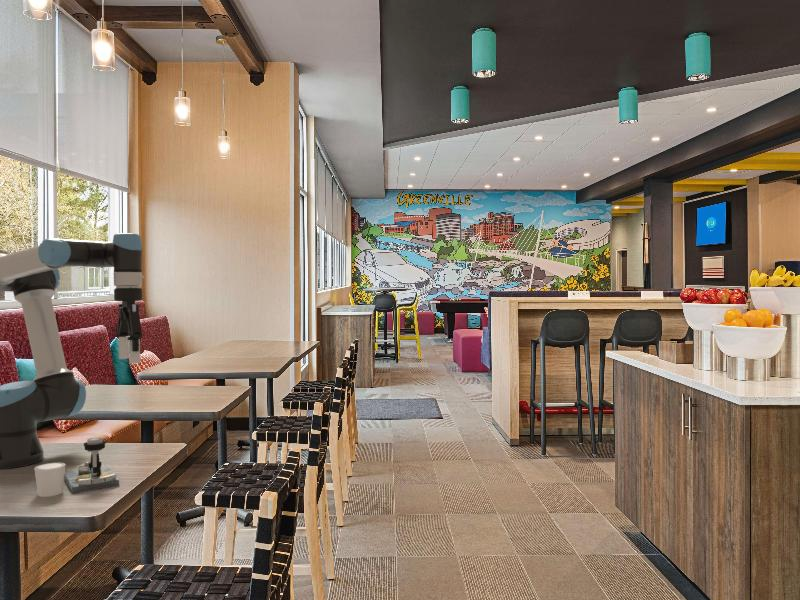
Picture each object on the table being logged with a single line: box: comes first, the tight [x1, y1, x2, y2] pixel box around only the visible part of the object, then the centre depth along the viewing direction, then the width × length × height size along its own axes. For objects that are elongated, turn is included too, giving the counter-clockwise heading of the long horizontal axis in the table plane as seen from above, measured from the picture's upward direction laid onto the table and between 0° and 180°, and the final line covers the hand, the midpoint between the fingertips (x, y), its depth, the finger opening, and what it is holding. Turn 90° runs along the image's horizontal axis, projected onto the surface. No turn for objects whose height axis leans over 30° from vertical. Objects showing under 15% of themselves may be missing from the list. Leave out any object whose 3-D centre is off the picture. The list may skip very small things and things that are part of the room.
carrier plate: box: [64, 461, 120, 494], centre depth 170 cm, size 15×11×4 cm
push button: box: [83, 437, 107, 478], centre depth 168 cm, size 7×5×10 cm
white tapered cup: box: [33, 462, 66, 498], centre depth 161 cm, size 7×7×7 cm
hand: (129, 360), depth 184 cm, fingers open, 13 cm apart
